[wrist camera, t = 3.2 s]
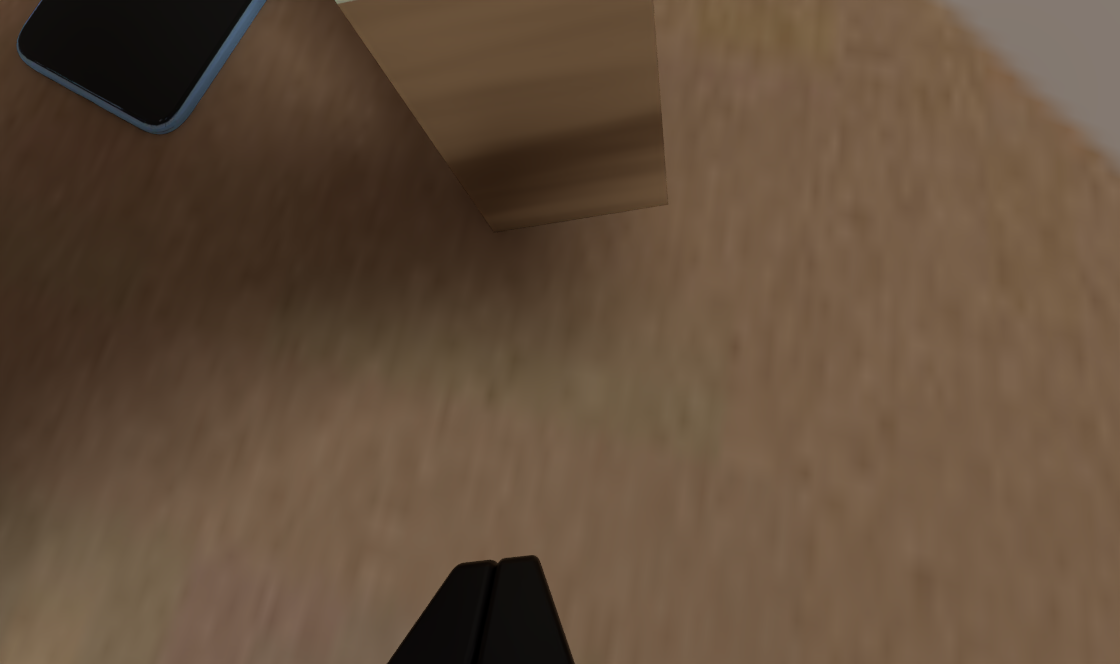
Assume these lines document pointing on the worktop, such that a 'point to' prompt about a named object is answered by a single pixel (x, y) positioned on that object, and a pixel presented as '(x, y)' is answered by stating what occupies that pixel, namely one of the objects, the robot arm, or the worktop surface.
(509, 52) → the beige wooden block
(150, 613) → the worktop surface
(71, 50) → the smartphone
